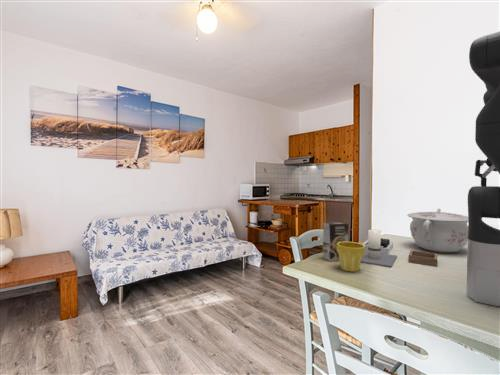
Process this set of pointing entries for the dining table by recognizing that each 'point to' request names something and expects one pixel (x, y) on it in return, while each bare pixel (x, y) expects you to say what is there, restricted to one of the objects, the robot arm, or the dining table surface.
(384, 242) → the electronic device
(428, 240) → the chamber pot
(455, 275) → the dining table surface
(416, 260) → the walnut collar
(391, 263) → the charcoal mat
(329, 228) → the coffee box
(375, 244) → the white capsule dome
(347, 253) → the plant pot
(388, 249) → the grey organizer frame
